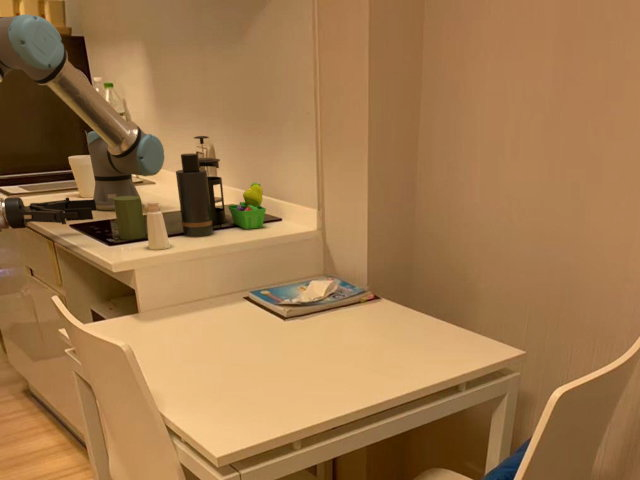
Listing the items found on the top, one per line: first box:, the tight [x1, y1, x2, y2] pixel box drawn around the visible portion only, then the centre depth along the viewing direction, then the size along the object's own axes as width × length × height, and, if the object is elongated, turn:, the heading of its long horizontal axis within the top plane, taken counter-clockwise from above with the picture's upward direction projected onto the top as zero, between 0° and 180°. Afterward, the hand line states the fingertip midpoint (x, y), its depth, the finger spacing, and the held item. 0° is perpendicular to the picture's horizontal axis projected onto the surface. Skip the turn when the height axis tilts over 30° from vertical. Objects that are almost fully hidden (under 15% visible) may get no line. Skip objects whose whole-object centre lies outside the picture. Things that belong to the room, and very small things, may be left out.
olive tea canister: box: [113, 195, 147, 241], centre depth 185 cm, size 7×7×10 cm
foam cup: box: [67, 154, 95, 199], centre depth 245 cm, size 10×9×13 cm
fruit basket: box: [227, 182, 267, 230], centre depth 196 cm, size 11×9×11 cm
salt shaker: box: [146, 200, 171, 251], centre depth 173 cm, size 5×5×11 cm
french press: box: [193, 135, 227, 226], centre depth 199 cm, size 12×9×23 cm
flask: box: [175, 152, 214, 238], centre depth 185 cm, size 8×8×20 cm
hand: (94, 209), depth 182 cm, fingers open, 13 cm apart
